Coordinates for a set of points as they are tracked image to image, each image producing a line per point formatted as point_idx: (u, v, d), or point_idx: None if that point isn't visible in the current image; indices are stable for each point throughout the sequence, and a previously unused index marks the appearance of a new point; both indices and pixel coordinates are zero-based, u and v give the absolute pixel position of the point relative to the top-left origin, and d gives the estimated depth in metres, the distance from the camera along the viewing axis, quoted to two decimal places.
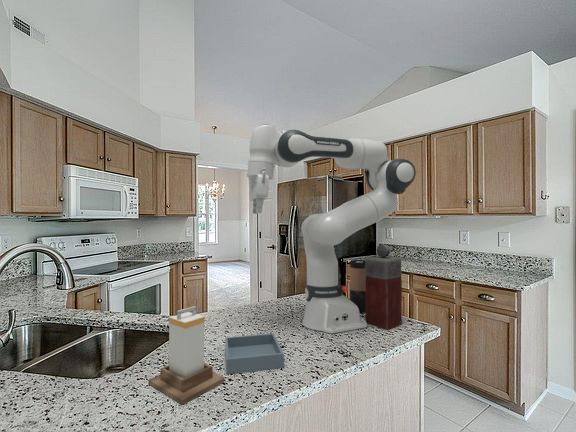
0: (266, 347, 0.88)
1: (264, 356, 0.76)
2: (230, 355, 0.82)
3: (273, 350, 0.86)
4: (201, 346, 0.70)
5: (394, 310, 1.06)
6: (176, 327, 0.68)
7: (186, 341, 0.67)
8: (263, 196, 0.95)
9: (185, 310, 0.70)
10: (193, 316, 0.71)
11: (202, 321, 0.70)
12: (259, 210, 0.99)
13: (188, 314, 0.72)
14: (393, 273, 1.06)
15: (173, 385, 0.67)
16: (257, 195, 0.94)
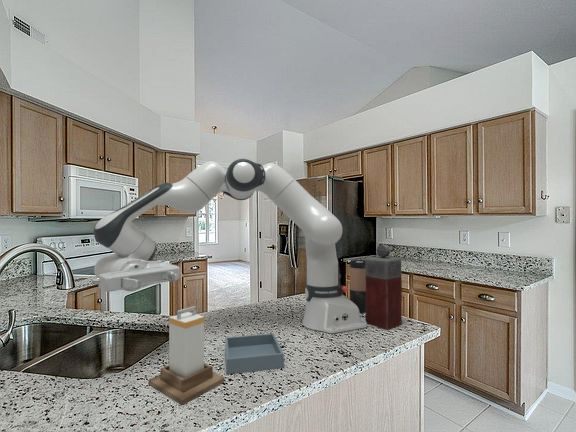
0: (266, 347, 0.88)
1: (264, 356, 0.76)
2: (230, 355, 0.82)
3: (273, 350, 0.86)
4: (201, 346, 0.70)
5: (394, 310, 1.06)
6: (176, 327, 0.68)
7: (186, 341, 0.67)
8: (107, 282, 0.73)
9: (185, 310, 0.70)
10: (193, 316, 0.71)
11: (202, 321, 0.70)
12: (134, 283, 0.74)
13: (188, 314, 0.72)
14: (393, 273, 1.06)
15: (173, 385, 0.67)
16: (107, 290, 0.73)
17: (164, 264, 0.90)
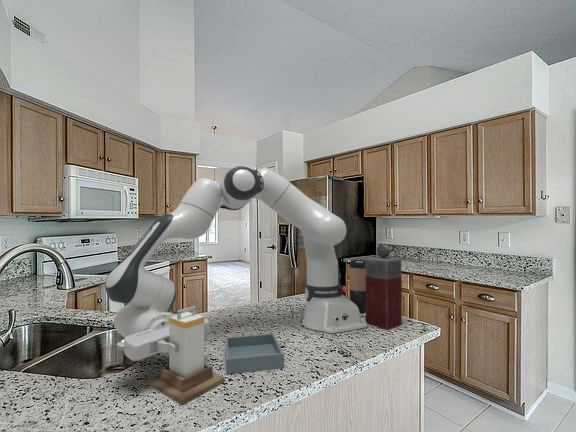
0: (266, 347, 0.88)
1: (264, 356, 0.76)
2: (230, 355, 0.82)
3: (273, 350, 0.86)
4: (201, 346, 0.70)
5: (394, 310, 1.06)
6: (176, 327, 0.68)
7: (186, 341, 0.67)
8: (134, 351, 0.65)
9: (185, 310, 0.70)
10: (193, 316, 0.71)
11: (202, 321, 0.70)
12: (171, 348, 0.67)
13: (188, 314, 0.72)
14: (394, 273, 1.06)
15: (173, 385, 0.67)
16: (135, 359, 0.65)
17: None
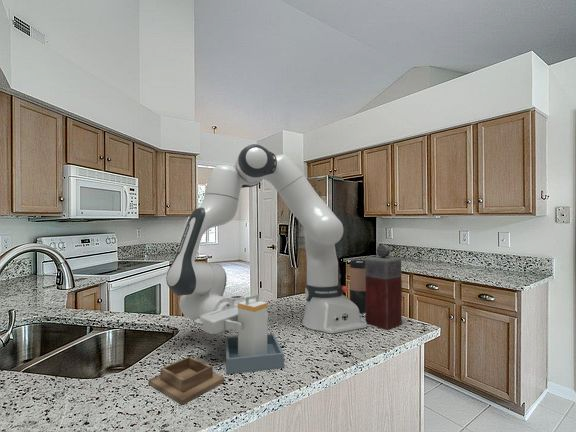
0: None
1: (264, 356, 0.76)
2: (230, 355, 0.82)
3: (273, 350, 0.86)
4: (265, 327, 0.82)
5: (394, 310, 1.06)
6: (245, 311, 0.81)
7: (255, 322, 0.79)
8: (213, 326, 0.77)
9: (251, 297, 0.82)
10: (258, 302, 0.83)
11: (266, 306, 0.82)
12: (237, 326, 0.78)
13: (252, 301, 0.84)
14: (393, 273, 1.06)
15: (173, 385, 0.67)
16: (213, 333, 0.78)
17: None
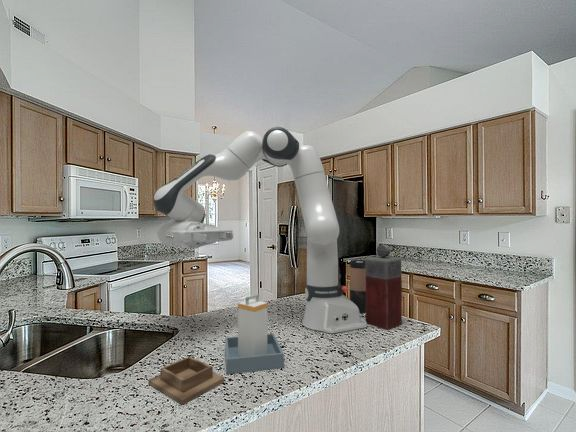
0: None
1: (264, 356, 0.76)
2: (230, 355, 0.82)
3: (273, 350, 0.86)
4: (265, 327, 0.82)
5: (394, 310, 1.06)
6: (245, 311, 0.81)
7: (255, 322, 0.79)
8: (181, 235, 0.88)
9: (252, 297, 0.82)
10: (258, 302, 0.83)
11: (266, 306, 0.82)
12: (203, 236, 0.89)
13: (252, 301, 0.84)
14: (394, 273, 1.06)
15: (173, 385, 0.67)
16: (181, 242, 0.88)
17: (218, 227, 1.05)
